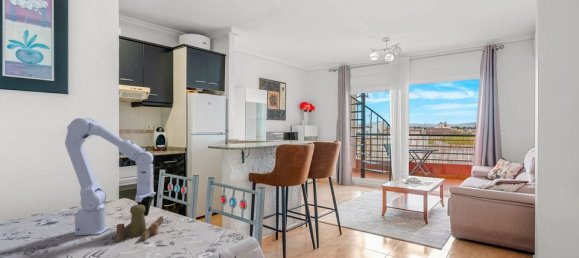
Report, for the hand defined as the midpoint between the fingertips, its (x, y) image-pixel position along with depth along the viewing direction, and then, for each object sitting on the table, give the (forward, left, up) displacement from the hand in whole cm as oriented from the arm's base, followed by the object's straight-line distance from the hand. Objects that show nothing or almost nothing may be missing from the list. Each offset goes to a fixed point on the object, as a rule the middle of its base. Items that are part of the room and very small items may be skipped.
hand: (144, 215), depth 126 cm
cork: (0, -7, -5) cm, 9 cm away
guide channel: (0, -4, -5) cm, 7 cm away
